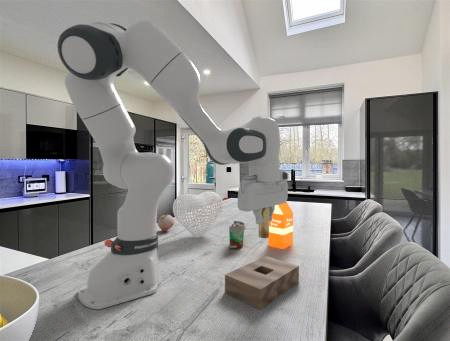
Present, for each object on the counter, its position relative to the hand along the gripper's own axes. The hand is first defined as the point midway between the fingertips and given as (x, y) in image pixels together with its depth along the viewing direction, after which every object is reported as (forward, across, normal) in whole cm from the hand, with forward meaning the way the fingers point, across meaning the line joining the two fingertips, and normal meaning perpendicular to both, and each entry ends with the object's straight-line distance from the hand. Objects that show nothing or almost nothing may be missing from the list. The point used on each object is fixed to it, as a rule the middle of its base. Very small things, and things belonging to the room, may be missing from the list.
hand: (264, 222), depth 72 cm
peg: (+4, 0, 0) cm, 4 cm away
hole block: (+19, 0, 0) cm, 19 cm away
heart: (+19, +19, +52) cm, 59 cm away
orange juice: (+20, +38, +17) cm, 46 cm away
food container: (+20, +23, +29) cm, 42 cm away
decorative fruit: (+19, +14, +73) cm, 77 cm away
